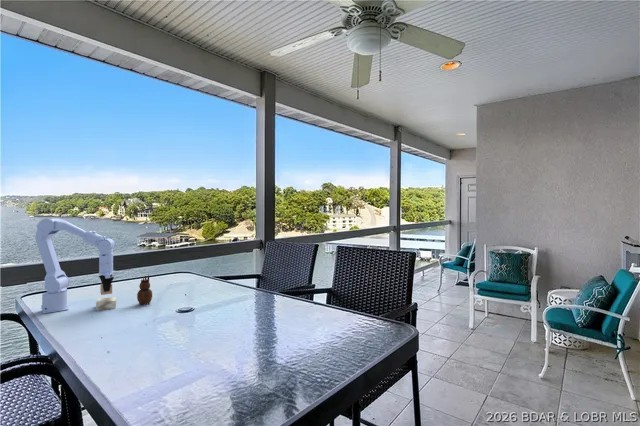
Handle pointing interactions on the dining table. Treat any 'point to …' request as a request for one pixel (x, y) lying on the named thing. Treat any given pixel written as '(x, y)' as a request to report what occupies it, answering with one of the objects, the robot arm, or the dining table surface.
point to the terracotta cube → (103, 290)
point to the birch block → (106, 303)
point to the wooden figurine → (144, 292)
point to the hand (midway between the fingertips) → (106, 290)
